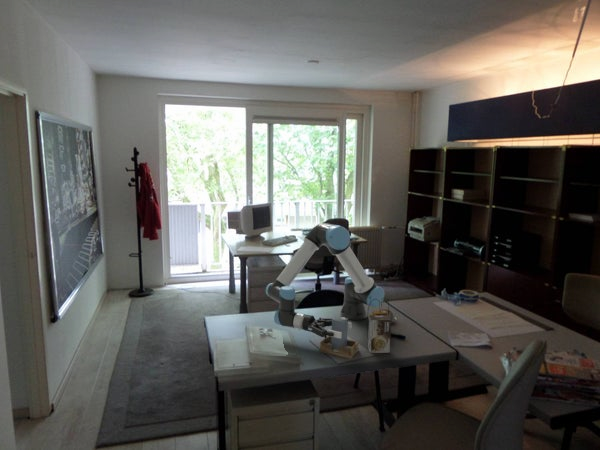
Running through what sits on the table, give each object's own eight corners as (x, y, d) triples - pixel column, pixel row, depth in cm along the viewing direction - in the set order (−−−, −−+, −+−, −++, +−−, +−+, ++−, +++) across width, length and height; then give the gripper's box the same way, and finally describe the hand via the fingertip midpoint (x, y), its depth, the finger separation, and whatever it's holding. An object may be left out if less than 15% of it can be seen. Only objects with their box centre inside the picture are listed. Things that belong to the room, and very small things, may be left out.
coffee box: (386, 347, 201) (388, 314, 199) (389, 353, 194) (391, 319, 192) (367, 347, 200) (369, 314, 198) (370, 353, 194) (372, 319, 192)
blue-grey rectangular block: (330, 343, 200) (332, 313, 198) (350, 348, 195) (352, 317, 193) (326, 347, 195) (328, 317, 193) (347, 352, 191) (348, 320, 189)
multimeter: (373, 344, 204) (375, 304, 202) (364, 336, 214) (366, 298, 211) (400, 342, 208) (402, 302, 206) (390, 334, 218) (392, 297, 215)
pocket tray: (327, 343, 203) (328, 335, 203) (358, 350, 197) (358, 341, 196) (319, 351, 194) (319, 342, 194) (351, 358, 187) (351, 349, 187)
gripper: (315, 321, 214) (354, 329, 204) (292, 338, 191) (336, 348, 182) (315, 307, 213) (355, 314, 203) (293, 322, 190) (337, 331, 181)
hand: (346, 330), depth 193 cm, fingers open, 13 cm apart
